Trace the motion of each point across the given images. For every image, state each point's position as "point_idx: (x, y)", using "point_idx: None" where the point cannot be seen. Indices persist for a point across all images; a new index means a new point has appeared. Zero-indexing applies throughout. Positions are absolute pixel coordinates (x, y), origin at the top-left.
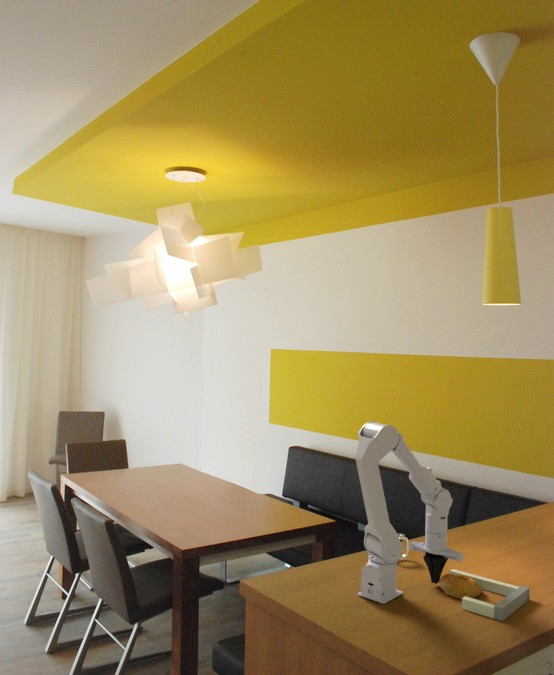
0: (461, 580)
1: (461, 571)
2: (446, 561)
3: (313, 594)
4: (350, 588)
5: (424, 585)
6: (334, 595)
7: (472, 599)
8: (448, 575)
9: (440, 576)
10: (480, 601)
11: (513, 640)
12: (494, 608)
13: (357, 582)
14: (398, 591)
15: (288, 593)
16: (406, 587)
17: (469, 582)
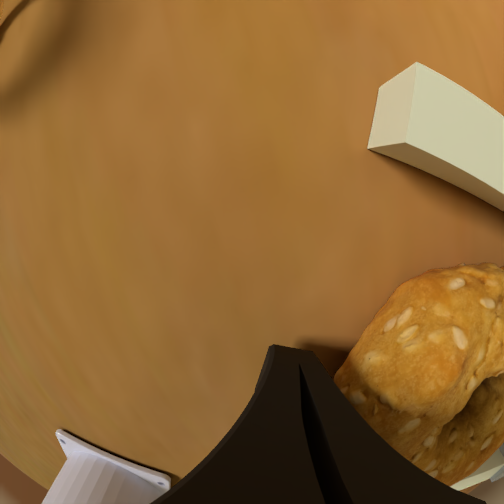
0: (464, 477)
1: (498, 117)
2: (444, 496)
3: (36, 468)
4: (39, 444)
5: (207, 371)
6: (57, 474)
7: (453, 486)
8: (409, 450)
9: (330, 379)
10: (473, 478)
11: (472, 488)
12: (490, 477)
13: (13, 404)
14: (152, 479)
15: (18, 462)
16: (139, 422)
17: (500, 445)
